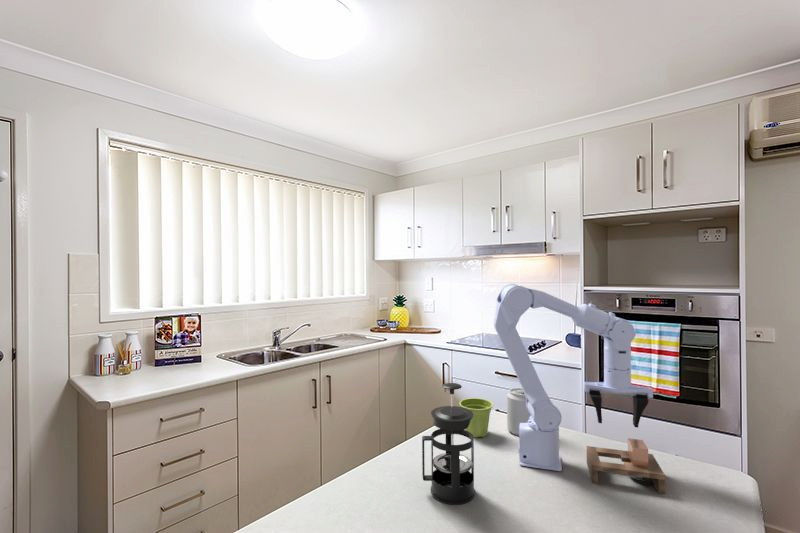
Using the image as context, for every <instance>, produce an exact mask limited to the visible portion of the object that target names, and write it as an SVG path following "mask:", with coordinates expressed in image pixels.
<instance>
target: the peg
mask: <svg viewBox="0 0 800 533" xmlns="http://www.w3.org/2000/svg"><path fill="white" fill-rule="evenodd" d="M627 451H628V457H629V459H630V461H631V463H632V465H633V466H639V467H646V468H648V454H649V448H648V447H647V445H646V443H645V442H644V440H643V439H635V438H627ZM628 477H630V478H631V479H634V480H638V481H647V480H649V478H647V477H640V476H633V475H628Z"/></svg>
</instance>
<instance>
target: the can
mask: <svg viewBox="0 0 800 533" xmlns="http://www.w3.org/2000/svg"><path fill="white" fill-rule="evenodd" d="M508 391H509V392H508V393H507V394H506V428H507V430H508V431H509V432H510V433H511V434H512V435H515V436H518V437H519V428H520V423H528V420H529V417H530V416H531V414H530V413H529V412H528V410H527V407H526V397H525V394H524V391H523V388H522V387H513V388H510V389H509V390H508Z"/></svg>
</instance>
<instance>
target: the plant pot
mask: <svg viewBox="0 0 800 533" xmlns="http://www.w3.org/2000/svg"><path fill="white" fill-rule="evenodd" d="M459 407H463V408H466V409H468V410H470V411H472V412H473V418H472V419H471V421H470V424H469V426H468V428H467V429H465V430H466V431H468V432H470V433H471V434H472V435H473V437H474V438H480V437H482V438H484V437H485V436H487V435H488V430H489V422H490V415H491V412H492V408H493V407H494V403H493V402H492V401H491V400H488V399H484V398H481V397H480V398H479V397H478V398H477V397H470V398H465V399H461V400H460V401H459Z"/></svg>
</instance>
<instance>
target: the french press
mask: <svg viewBox="0 0 800 533" xmlns="http://www.w3.org/2000/svg"><path fill="white" fill-rule="evenodd" d="M441 387H442V388H443V389H446V390H449V394H450V405H445V406H439V407H436V408H433V409H432V410H431V411H430V416H431V417H432V418H433V420H432V422H433V423H432V424H433V426H434V427H436V428H438V429H436V430H434V431H432V433H431V435H423V436H421V437H422V438H421V455H422V456H421V460H422V461H421V464H422V465H421V466H422V467H421V471H422V474H421V475H422V480H423V481H425V482H429V481H430V482H431V485H430V486H431V487H430V494H431V496H432V497H433V498H434V500H436V501H437V502H440V503H442V504H446V505H453V506H454V505H455V506H458V505H459V506H460V505H464V504H467V503H469V502H471V501H472V500H474V498H475V495H476V491H475V472H474V471H475V468H474V467H475V462H474V460H475V456H474V455H475V454H474V453H475V451H474V450H475V449H474V448H475V447H474V446H475V444H474V438H475V437H473V435H472V434H471V433H470V432H468V431H466V430H465V429H467V428H468V426H469V424H470V421H471V419H472V418H473V412H472V411H470V410H468V409H466V408H463V407H461V406H457V405H456V406H455V405H453V404H454V403H453V402H454V394H455V390H460V389H461V388H463V386H462V385H461V384H459V383H456V382H455V383H454V382H446V383H443V384H442V385H441ZM441 435H445V443H442V442H439V441H437V440H436V439H435V438H437V437H438V436H441ZM454 435H459V436H464V437H466V438H468V439H470V441H468V442H466V443H462V444H454ZM425 441H426V442H427V441H431V442H430V443H431V444H430V446H431V447H430V449H431V450H430V452H431V462H430V463H431V474H430V475H429V474H426V473H425ZM434 448H436V449H438V450H442V451H443V452H444V451H445V453H441V454H439V455H435V456H434ZM470 449H471V450H470ZM467 450H470V451H471V452H470V455H471V456H470V457H471V458H469V457H468V456H466V455H463V454H461V452H465V451H467ZM434 468H435V470H434ZM446 483H451V486H445V485H442V484H446ZM461 485H462V486H461Z"/></svg>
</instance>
